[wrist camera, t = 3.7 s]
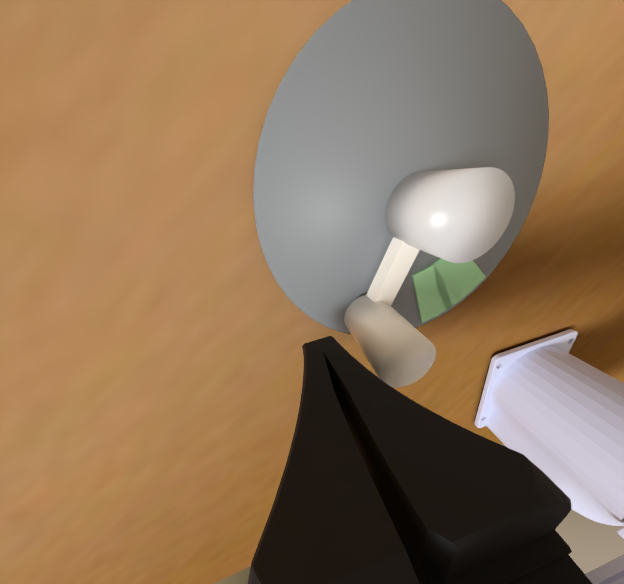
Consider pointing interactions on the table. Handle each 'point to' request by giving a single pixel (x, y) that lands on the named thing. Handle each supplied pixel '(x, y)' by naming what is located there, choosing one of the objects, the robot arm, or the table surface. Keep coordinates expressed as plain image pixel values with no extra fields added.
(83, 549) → the table surface
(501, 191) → the tuning lever
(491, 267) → the dial plate
